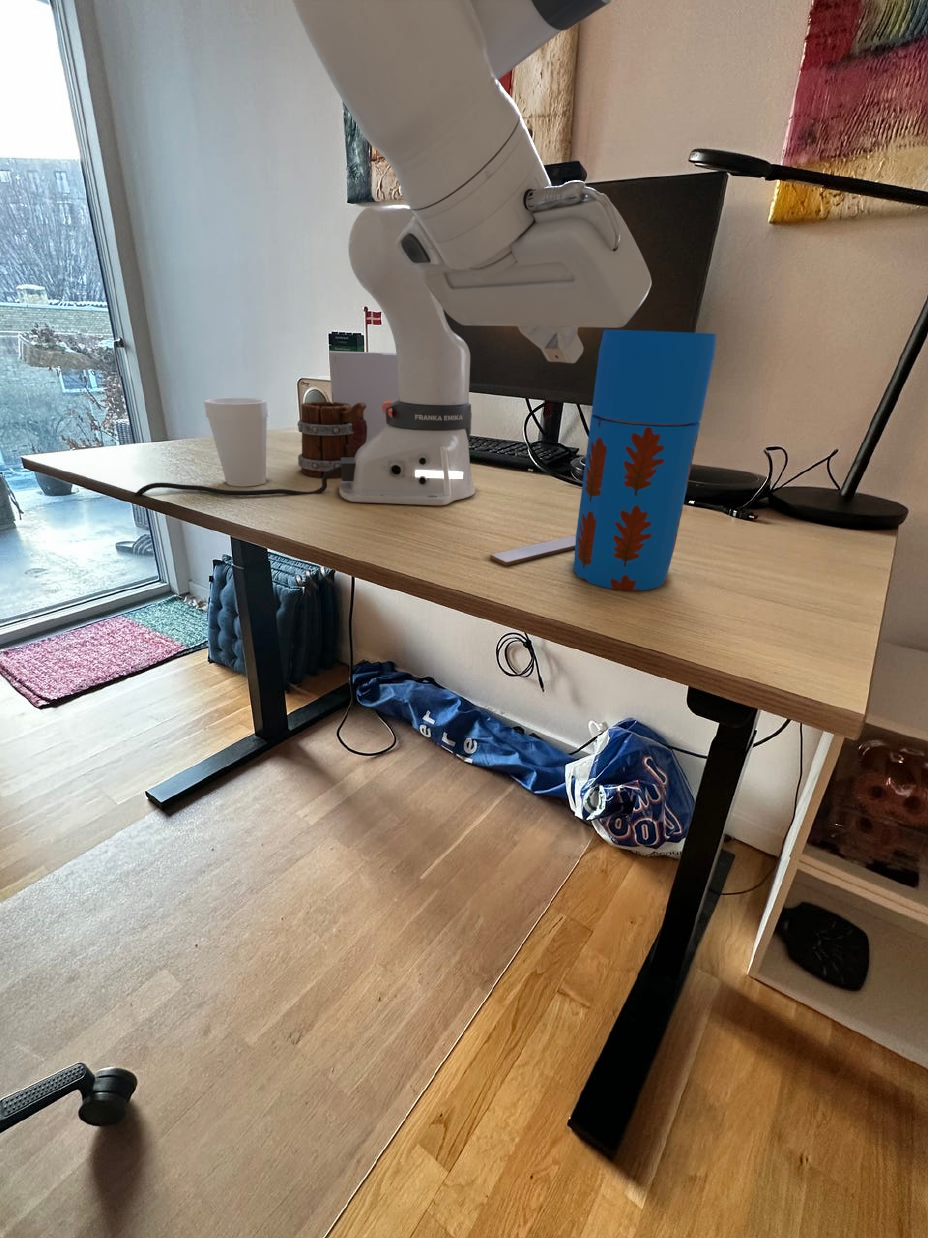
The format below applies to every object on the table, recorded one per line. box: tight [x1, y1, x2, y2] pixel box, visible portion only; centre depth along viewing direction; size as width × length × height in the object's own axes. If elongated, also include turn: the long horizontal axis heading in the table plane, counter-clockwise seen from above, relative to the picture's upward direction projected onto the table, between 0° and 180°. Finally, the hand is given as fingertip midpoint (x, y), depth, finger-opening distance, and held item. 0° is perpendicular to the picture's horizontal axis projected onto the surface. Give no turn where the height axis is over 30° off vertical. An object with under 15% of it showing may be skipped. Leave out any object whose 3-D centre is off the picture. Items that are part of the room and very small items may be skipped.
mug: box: [297, 401, 368, 479], centre depth 104 cm, size 12×14×15 cm
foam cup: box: [203, 397, 269, 487], centre depth 96 cm, size 10×9×13 cm
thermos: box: [573, 329, 717, 592], centre depth 62 cm, size 11×11×25 cm
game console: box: [328, 350, 399, 442], centre depth 118 cm, size 6×27×20 cm, turn 106°
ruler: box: [489, 534, 576, 567], centre depth 77 cm, size 30×3×1 cm, turn 127°
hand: (566, 356), depth 50 cm, fingers closed
